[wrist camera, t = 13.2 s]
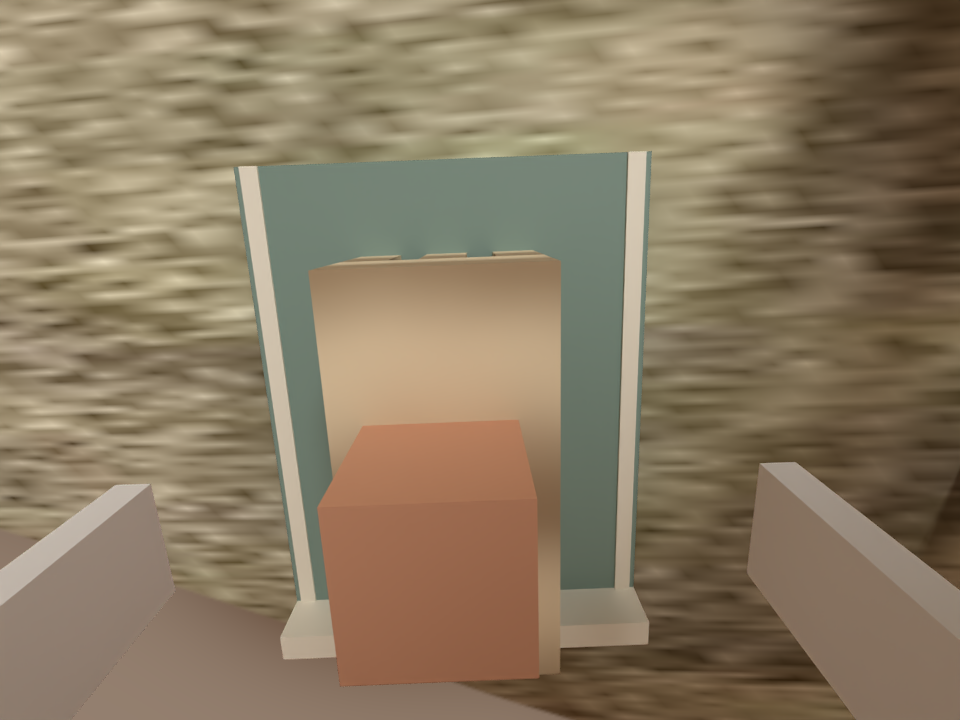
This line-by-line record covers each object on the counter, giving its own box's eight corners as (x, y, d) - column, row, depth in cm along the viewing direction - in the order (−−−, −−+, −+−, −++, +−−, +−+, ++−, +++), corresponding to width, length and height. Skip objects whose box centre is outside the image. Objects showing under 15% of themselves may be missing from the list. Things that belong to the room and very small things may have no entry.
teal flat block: (277, 178, 21) (203, 159, 15) (618, 165, 21) (674, 141, 15) (326, 561, 26) (283, 659, 20) (608, 549, 26) (647, 644, 20)
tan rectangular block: (360, 256, 18) (308, 270, 12) (532, 250, 18) (560, 260, 12) (388, 556, 21) (356, 681, 15) (535, 550, 21) (560, 673, 15)
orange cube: (362, 425, 13) (316, 507, 9) (518, 419, 13) (537, 498, 9) (376, 561, 14) (339, 686, 10) (521, 555, 14) (539, 677, 10)
